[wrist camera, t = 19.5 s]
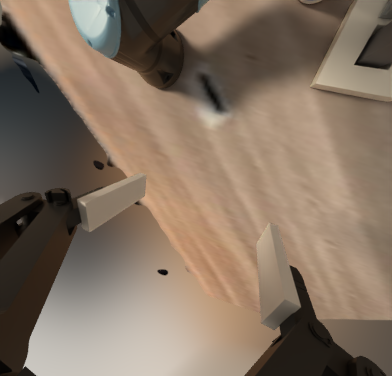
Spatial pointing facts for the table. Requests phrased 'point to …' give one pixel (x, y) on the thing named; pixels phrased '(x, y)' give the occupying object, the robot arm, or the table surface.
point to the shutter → (387, 11)
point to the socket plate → (356, 55)
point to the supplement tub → (310, 1)
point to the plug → (377, 49)
